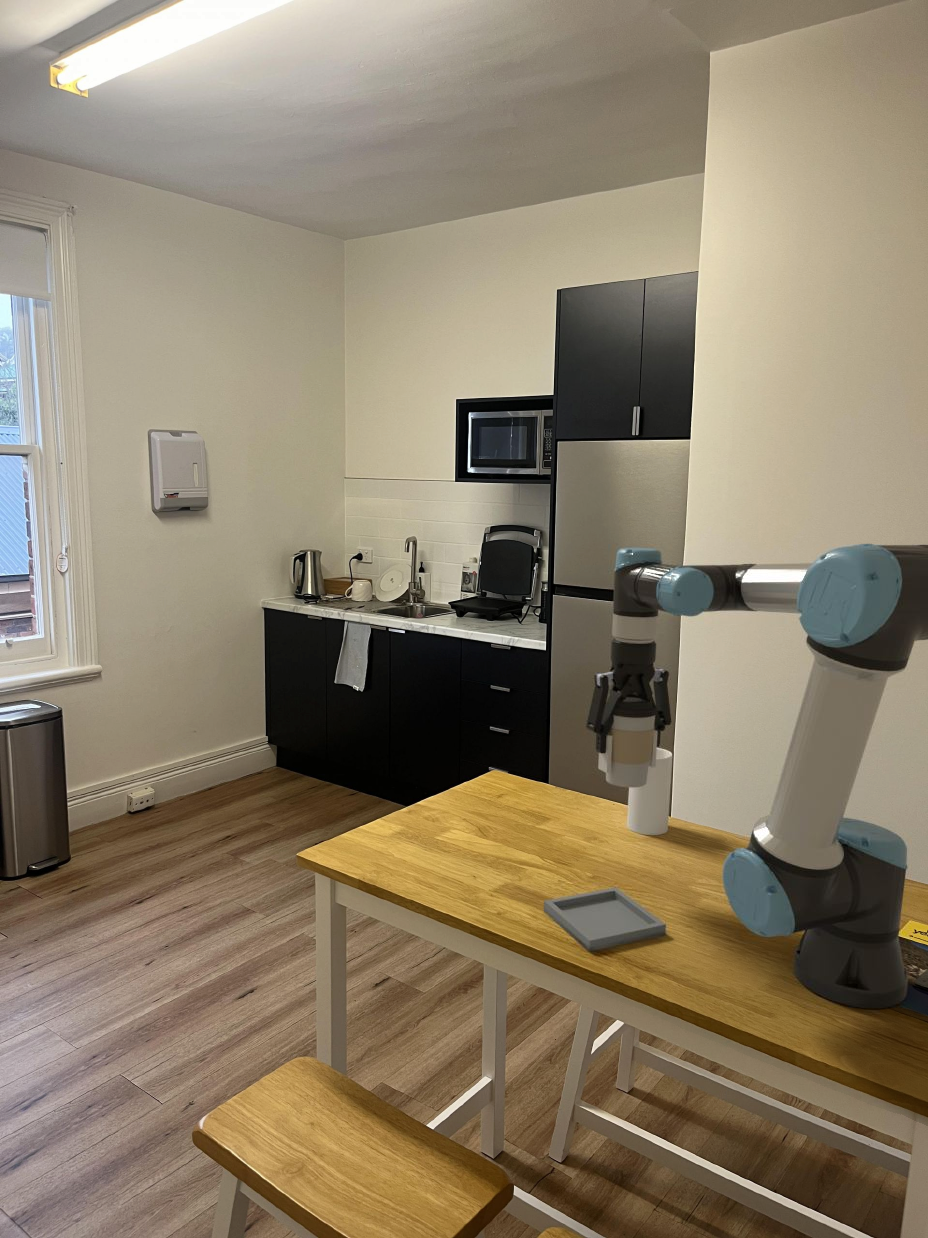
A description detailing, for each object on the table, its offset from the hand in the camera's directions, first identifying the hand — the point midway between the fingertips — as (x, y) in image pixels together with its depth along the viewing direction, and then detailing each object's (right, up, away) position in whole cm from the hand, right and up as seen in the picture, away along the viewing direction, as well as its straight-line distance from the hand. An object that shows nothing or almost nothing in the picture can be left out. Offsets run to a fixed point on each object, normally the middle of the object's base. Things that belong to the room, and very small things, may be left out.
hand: (627, 767), depth 158 cm
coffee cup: (0, -3, 0) cm, 3 cm away
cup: (+9, -17, +30) cm, 35 cm away
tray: (-6, -23, -11) cm, 26 cm away
